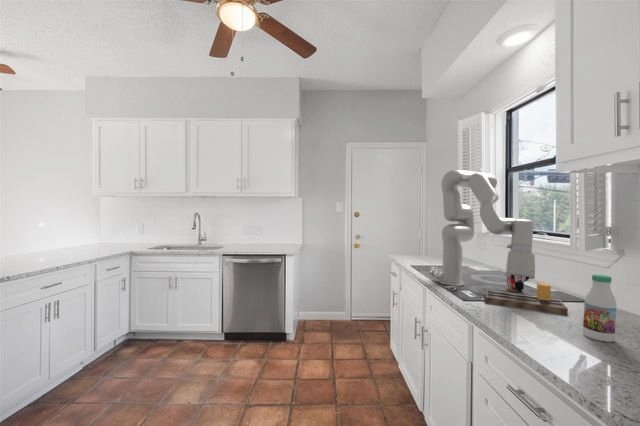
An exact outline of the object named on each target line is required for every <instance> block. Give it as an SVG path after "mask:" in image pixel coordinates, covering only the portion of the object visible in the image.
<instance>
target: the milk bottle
mask: <svg viewBox="0 0 640 426" xmlns="http://www.w3.org/2000/svg"><path fill="white" fill-rule="evenodd" d="M591 282H592V285H591V287H590V289H589V290H588V292H587V294H586V296H585V299H584V304H583V305H584V306H583V307H584V308H583V319H582V320H583V322H582V325H583V326H582V327H583V328H582V333H583V336H585V337H586V338H590V339H592V340H595V341H598V342H603V341H605V343H613V342H615V340H616V331H617V330H616V327H617V300H616V298H615V296H614V293H613V291H612V289H611V284H612V277H611V276H609V275H604V274H592V275H591ZM612 341H613V342H612Z"/></svg>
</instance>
